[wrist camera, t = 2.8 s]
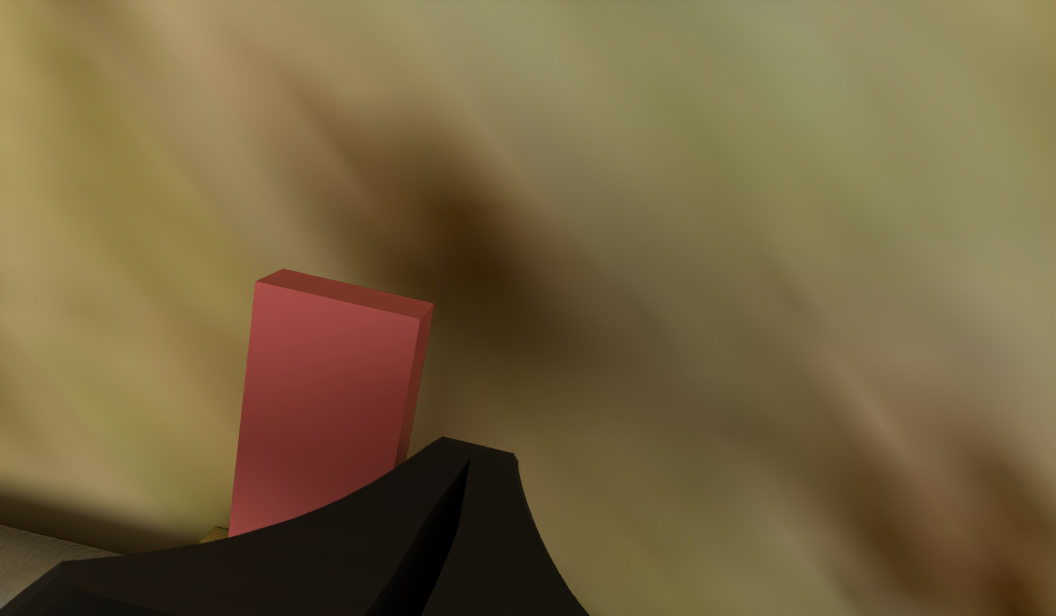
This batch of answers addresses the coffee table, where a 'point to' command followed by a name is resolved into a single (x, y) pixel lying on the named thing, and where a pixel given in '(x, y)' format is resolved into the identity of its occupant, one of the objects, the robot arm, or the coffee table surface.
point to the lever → (323, 394)
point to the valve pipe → (45, 557)
